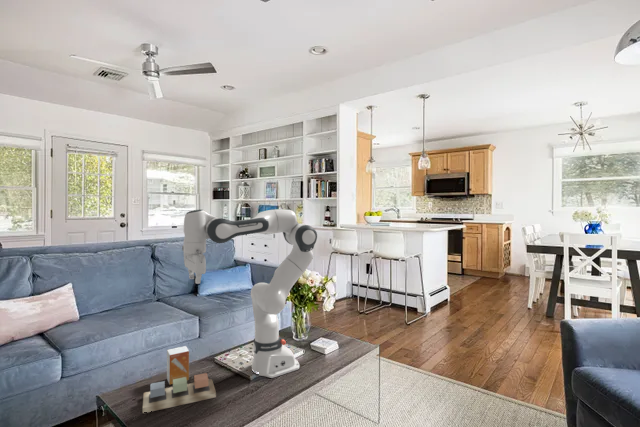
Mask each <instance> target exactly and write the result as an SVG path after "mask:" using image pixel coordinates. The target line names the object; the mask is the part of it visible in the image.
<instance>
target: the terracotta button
mask: <svg viewBox="0 0 640 427" xmlns="http://www.w3.org/2000/svg"><path fill="white" fill-rule="evenodd" d="M208 380H209V377H208V373H207V372H204V373H199V374H194V375H193V383H194V385H195V389H196V388H201V387H206V386H208Z"/></svg>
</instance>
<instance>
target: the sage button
mask: <svg viewBox="0 0 640 427" xmlns="http://www.w3.org/2000/svg"><path fill="white" fill-rule="evenodd" d="M187 384H188V380H187V379H186V377H183V378H178V379H173V384H172V387H173V393H177V392H182V391H187Z"/></svg>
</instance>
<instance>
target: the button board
mask: <svg viewBox="0 0 640 427" xmlns="http://www.w3.org/2000/svg"><path fill="white" fill-rule="evenodd" d="M142 397H143V398H142V414H145V413H144V412H147V413H150V412H151V411H152V412H155V411H159V410H164V409H165V410H166V409H169V408H173V407H178V406H182V405H187V404H192V403H196V402H200V401H204V400H209V399H213V398H217V392H216V388H215V385H214V382H213V379H212V378H210V379H208V386H206V387H201V388H196V389H195V385H194V382H191V383H187V391H182V392H177V393H173V386H170V387H166V388H165V395H163V396H158V397H153V398H150V391H145V392H143V396H142ZM152 412H151V413H152Z"/></svg>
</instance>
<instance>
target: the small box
mask: <svg viewBox="0 0 640 427" xmlns="http://www.w3.org/2000/svg"><path fill="white" fill-rule="evenodd" d="M183 377H186V379H187V381H189V379H190V351H189V348H188V347H187V345H184V346H179V347H175V348H170V349H167V350H166V379H167V382H168V385H173V379H178V378H183Z"/></svg>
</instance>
